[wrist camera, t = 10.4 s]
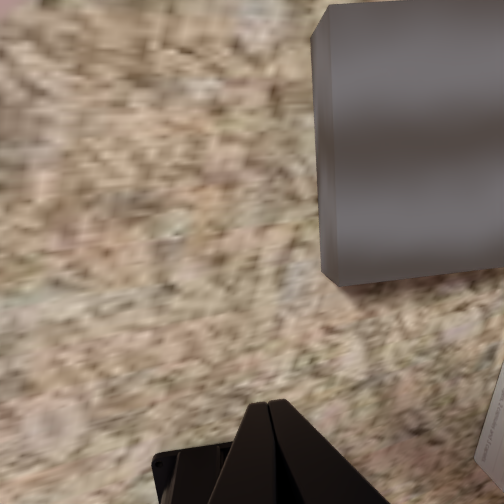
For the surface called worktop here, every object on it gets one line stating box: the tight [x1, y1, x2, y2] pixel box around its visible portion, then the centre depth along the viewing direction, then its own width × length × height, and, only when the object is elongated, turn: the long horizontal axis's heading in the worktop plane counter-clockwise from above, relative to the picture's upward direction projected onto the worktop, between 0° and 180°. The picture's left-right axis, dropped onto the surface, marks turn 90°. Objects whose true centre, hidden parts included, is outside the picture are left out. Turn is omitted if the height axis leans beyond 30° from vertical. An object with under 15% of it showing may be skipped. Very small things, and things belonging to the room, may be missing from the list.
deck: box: [310, 0, 504, 287], centre depth 17 cm, size 13×12×3 cm
